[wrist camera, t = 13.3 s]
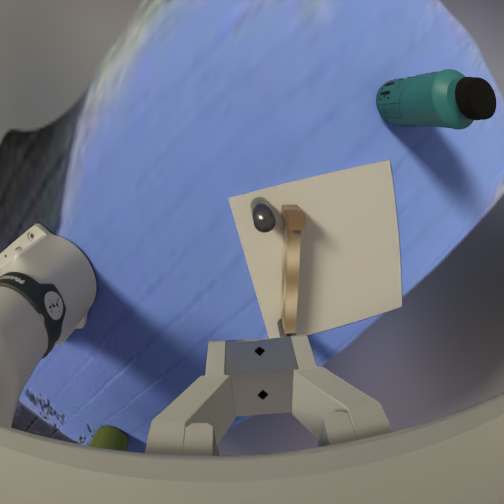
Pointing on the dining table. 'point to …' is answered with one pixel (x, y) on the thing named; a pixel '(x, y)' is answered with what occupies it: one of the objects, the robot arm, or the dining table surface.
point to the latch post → (262, 215)
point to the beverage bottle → (436, 100)
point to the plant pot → (110, 439)
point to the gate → (291, 264)
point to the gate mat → (328, 248)
